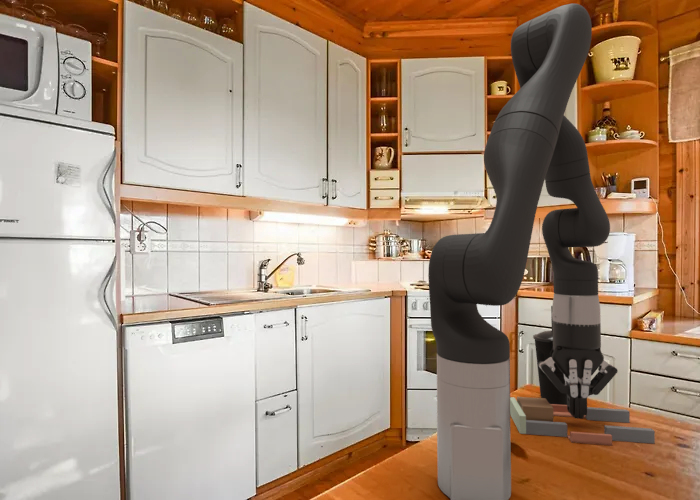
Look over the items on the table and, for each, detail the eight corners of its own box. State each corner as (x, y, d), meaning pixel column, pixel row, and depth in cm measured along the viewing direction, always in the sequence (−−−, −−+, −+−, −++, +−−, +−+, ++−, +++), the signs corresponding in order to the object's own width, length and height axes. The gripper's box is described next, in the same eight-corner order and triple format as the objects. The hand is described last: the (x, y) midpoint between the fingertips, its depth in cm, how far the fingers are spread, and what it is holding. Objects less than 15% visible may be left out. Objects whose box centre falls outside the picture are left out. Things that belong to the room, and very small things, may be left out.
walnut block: (553, 431, 71) (553, 408, 71) (522, 429, 72) (522, 406, 72) (545, 419, 76) (545, 398, 76) (517, 417, 77) (516, 396, 77)
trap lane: (661, 449, 64) (661, 436, 64) (528, 439, 68) (528, 426, 68) (621, 416, 77) (621, 405, 77) (512, 409, 81) (512, 399, 81)
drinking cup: (575, 413, 78) (573, 309, 79) (531, 406, 82) (530, 307, 83) (576, 401, 85) (574, 305, 85) (536, 395, 89) (534, 303, 89)
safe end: (526, 433, 70) (525, 416, 70) (519, 433, 70) (519, 415, 70) (514, 413, 79) (514, 397, 79) (509, 412, 79) (509, 397, 79)
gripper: (542, 322, 70) (543, 423, 70) (627, 323, 68) (628, 428, 68) (531, 315, 78) (532, 407, 78) (607, 317, 76) (608, 411, 75)
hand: (577, 416), depth 73 cm, fingers closed
